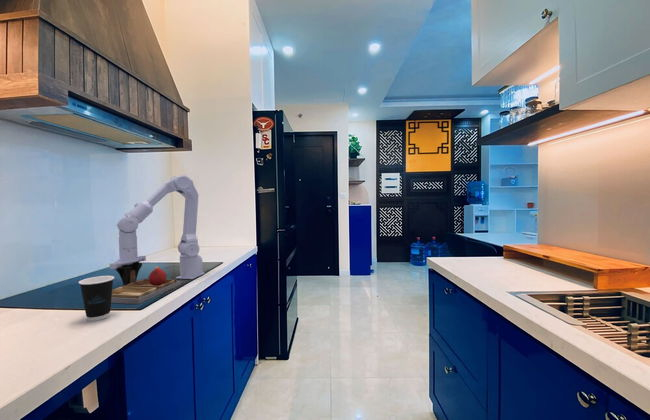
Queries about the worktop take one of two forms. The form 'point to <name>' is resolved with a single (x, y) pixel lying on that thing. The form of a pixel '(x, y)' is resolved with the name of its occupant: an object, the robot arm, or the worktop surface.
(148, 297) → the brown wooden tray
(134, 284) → the walnut tray
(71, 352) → the worktop surface
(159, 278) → the onion
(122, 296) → the oak tray
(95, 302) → the dixie cup
